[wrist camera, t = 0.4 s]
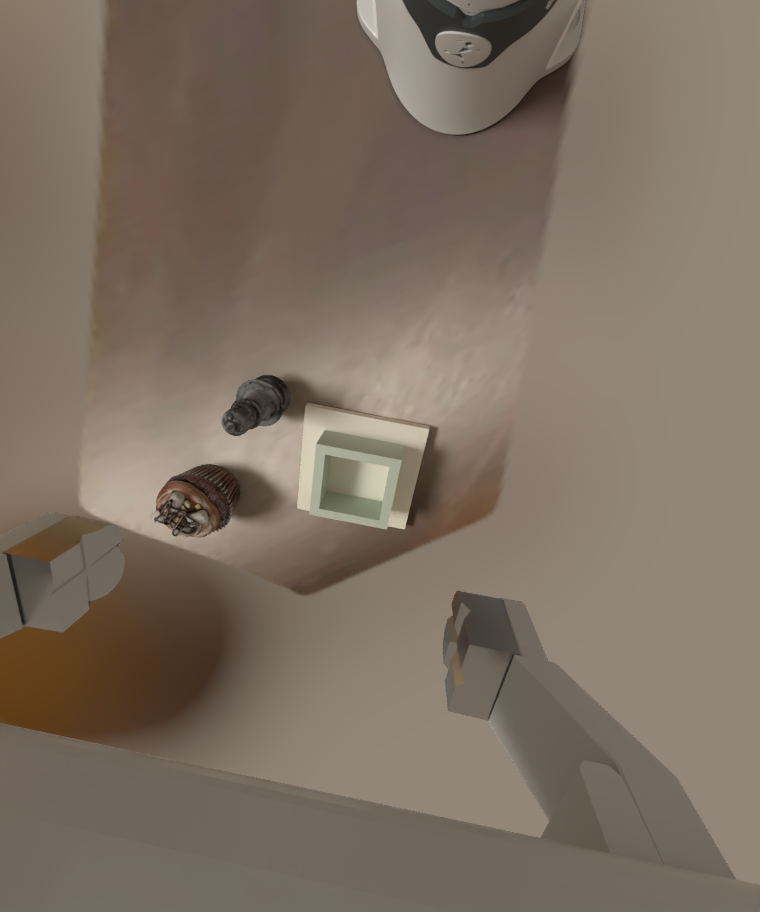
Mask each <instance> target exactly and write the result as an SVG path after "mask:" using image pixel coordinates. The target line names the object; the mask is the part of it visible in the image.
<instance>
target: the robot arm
mask: <svg viewBox="0 0 760 912" xmlns="http://www.w3.org/2000/svg"><path fill="white" fill-rule="evenodd" d="M585 4H586V0H357V14H358V19H359V22H360V24H361V26H362V28H363V29H364V31H365V32H366V34H367V35H368V36H369V38H370V39H371V40H372V41H373V43H374V44H375V45H376V46H377V47H378V48H379V50H380V52H381V54H382V57H383V59H384V62H385V65H386V68H387V71H388V74H389V78H390V80H391V83H392V85H393V88H394V90H395V92H396V94H397V96H398V97H399V99H400V101H401V102H402V104H403V105H404V106H405V108H406V109H407V110H408V111H409V112H410V114H411V115H412V116H413V117H414V118H416V119H417V120H418V121H419V122H421V123H422V124H423V125H425V126H427V127H429V128H430V129H433V130H435V131H438V132H441V133H445V134H453V135H461V134H469V133H473V132H477V131H480V130H482V129H485V128H487V127H489V126H491V125H493V124H494V123H496V122H497V121H499V120H500V119H502V118H503V117H504V116H506V115H507V114H508V113H509V112H510V111H511V110H512V109H513V108H514V107H515V106H516V105H517V104H518V103H519V102H520V101H521V99H522V98H523V97H524V96H525V95H526V93H527V92H528V91H529V90H530V89H531V87H532V86H533V85H534V84H535V83H536V82H537V81H538V80H539V79H540V78H542V77H544V76H546V75H548V74H549V73H551V72H553V71H554V70H556V69H558V68H559V67H561V66H562V65H564V64H565V63H566V62H567V61H568V60H569V59H570V58H571V57H572V56H573V54H574V52H575V50H576V48H577V46H578V44H579V41H580V37H581V31H582V24H583V17H584V11H585ZM122 541H123V539H122V533H121V528H120V527H118V526H117V525H115V524H111V523H107V522H102V521H97V520H92V519H88V518H84V517H79V516H73V515H69V514H64V513H59V512H50V513H46V514H44V515H42V516H40V517H37V518H35V519H34V520H31V521H29V522H27V523H25V524H23V525H21V526H19V527H17V528H15V529H13V530H11V531H9V532H7V533H5V534H3V535H1V536H0V638H2V637H4V636H6V635H9V634H11V633H13V632H15V631H17V630H19V629H22V628H23V626H28V627H34V628H40V629H46V630H52V631H58V632H64V631H65V630H66V629H67V628H68V627H69V626H71V625H72V624H73V623H74V622H75V621H76V620H78V619H79V618H80V617H81V616H82V615H83V614H85V613H86V612H87V611H88V610H89V608H90V603H91V601H93V600H95V599H98V598H100V597H103V596H105V595H107V594H108V593H109V592H110V591H111V590H112V589H113V588H114V587H115V586H116V585H117V583H118V582H119V580H120V578H121V577H122V575H123V571H124V566H125V561H124V555H123V554H122V552H121V551H120V550H119V549H118V545H119V544H120V543H121V542H122ZM452 611H453V616H451V617H450V618H449V619H448V620H447V623H446V627H445V631H444V638H443V662H444V664H445V666H446V667H447V668H448V673H447V676H446V680H445V686H446V696H447V707H448V711H450V712H455V713H459V714H463V715H467V716H472V717H476V718H480V719H485V720H489V722H488V723H489V725H490V726H491V728H492V730H493V731H494V733H495V734H496V736H497V738H498V739H499V741H500V742H501V744H502V746H503V747H504V749H505V751H506V752H507V754H508V755H509V757H510V759H511V760H512V762H513V764H514V765H515V766H516V768H517V770H518V772H519V773H520V775H521V776H522V778H523V779H524V781H525V783H526V784H527V786H528V788H529V789H530V791H531V792H532V794H533V796H534V797H535V799H536V800H537V802H538V804H539V805H540V807H541V809H542V810H543V812H544V813H545V815H546V817H547V818H548V820H549V824H548V825H547V827H546V829H545V831H544V832H543V834H542V836H541V838H538V837H533V836H528V835H524V834H519V833H514V832H509V831H505V830H500V829H495V828H491V827H486V826H481V825H477V824H472V823H467V822H463V821H458V820H453V819H448V818H444V817H439V816H434V815H429V814H425V813H420V812H415V811H411V810H406V809H401V808H397V807H392V806H388V805H383V804H378V803H373V802H369V801H364V800H359V799H354V798H350V797H345V796H340V795H336V794H331V793H326V792H322V791H317V790H312V789H307V788H303V787H298V786H293V785H288V784H284V783H279V782H274V781H270V780H265V779H260V778H255V777H251V776H246V775H241V774H236V773H232V772H227V771H222V770H217V769H213V768H208V767H203V766H198V765H194V764H189V763H185V762H180V761H175V760H170V759H165V758H161V757H156V756H152V755H147V754H142V753H137V752H133V751H128V750H123V749H119V748H114V747H110V746H104V745H100V744H95V743H91V742H86V741H81V740H77V739H72V738H67V737H62V736H58V735H53V734H48V733H44V732H39V731H35V730H29V729H25V728H20V727H16V726H11V725H6V724H1V723H0V912H760V885H758V884H753V883H748V882H744V881H740V880H736V878H735V876H734V875H733V873H732V871H731V870H730V868H729V866H728V864H727V863H726V861H725V859H724V858H723V856H722V854H721V852H720V851H719V849H718V847H717V846H716V844H715V842H714V840H713V839H712V837H711V835H710V834H709V832H708V830H707V828H706V827H705V825H704V823H703V822H702V820H701V818H700V817H699V815H698V813H697V811H696V810H695V808H694V806H693V804H692V803H691V801H690V799H689V798H688V796H687V794H686V793H685V791H684V789H683V787H682V786H681V784H680V782H679V780H678V779H677V777H676V776H675V775H674V774H673V773H672V772H670V771H669V770H668V769H667V768H666V767H665V766H664V765H663V764H662V763H661V762H660V761H659V760H658V759H657V758H656V757H654V756H653V755H652V754H651V753H650V752H649V751H648V750H647V749H646V748H645V747H644V746H643V745H642V744H641V743H640V742H639V741H637V739H636V738H634V737H633V736H632V735H631V734H630V733H629V732H628V731H627V730H626V729H625V728H624V727H623V726H622V725H620V724H619V722H617V721H616V720H615V719H614V718H613V717H612V716H611V715H610V714H609V713H608V712H607V711H606V710H605V709H604V708H602V706H601V705H599V704H598V703H597V702H596V701H595V700H594V699H593V698H592V697H591V696H590V695H589V694H588V693H587V692H586V691H585V690H583V689H582V688H581V687H580V686H579V685H578V684H577V683H576V682H575V681H574V680H573V679H572V678H571V677H570V676H569V675H567V673H566V672H565V671H563V670H562V669H561V668H560V667H559V666H558V665H557V664H556V663H553V662H549V661H548V659H547V657H546V654H545V652H544V650H543V647H542V645H541V643H540V640H539V638H538V635H537V633H536V630H535V628H534V626H533V623H532V620H531V618H530V616H529V613H528V611H527V608H526V606H525V604H524V603H522V602H521V601H515V600H509V599H503V598H500V599H498V598H493V597H487V596H482V595H477V594H472V593H467V592H461V591H457V592H456V593H455V595H454V598H453V602H452Z"/></svg>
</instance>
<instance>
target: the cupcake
mask: <svg viewBox="0 0 760 912" xmlns="http://www.w3.org/2000/svg"><path fill="white" fill-rule="evenodd" d="M239 496H240V486H239V485H238V483H237V480H236V479H235V478H234V476H233V475H232V474H229V473H228V472H226V471H225V470H224V469H222V468H221V467H218V466H215V465H211V464H209V465H208V464H206V465H201V466H197V467H195V468H193V469H191V470H189V471H186V472H184V473H182V474H179V475H177V476H174V477H172V478H171V479H170V480H169V481H168V482H167V483H166V484H165V486H164V487H163V488H162V489H161V491H160V492H159V494H158V496H157V500H156V503H157V505H156V512H154V513H153V514H152V515H151V520H152V522H154V523H163V524H165V525H166V526H167V527H168V528H170V529H171V530H173V531H172V534H173V536H178V535H181V536H183V537H188V536H191V537H205V536H207V535H209V534H210V533H211V532H213V533H214V532H215V530H216V531H219V529H222V527H225V526H226V525H227V524H228V522H229V521H230V518H231V516H232V513H233V511H234V508H235V506H236V504H237V502H238V499H239Z"/></svg>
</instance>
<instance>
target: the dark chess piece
mask: <svg viewBox="0 0 760 912" xmlns="http://www.w3.org/2000/svg"><path fill="white" fill-rule="evenodd" d="M289 403H290V393H289V390H288V388H287V386H286V385H285V384H284V383H283V382H282V380H280V379H278V378H277V377H274V376H271V375H264V376H260V377H258V378H256V379H254V380H249V381H247V382H245V383H243V384H242V385H241V386H240V387H239V389H238V391H237V395H236V401H235V402H234V403H233V404H232V406H231V409H229V410H228V411H227V412H225V414H224V415H223V417H222V426H223V428H224V429H225V431H226V432H227V433H229V434H231V435H233V436H239V435H242V434H244V433H245V432H246V431H248V430H249V429H254V428H256V427H257V426H270V425H272V424H274V423H276V422H277V421H278V420H279V419H280V417H281V416H282V414H283V412H284V411H285V410H286V409H287V407H288V405H289Z"/></svg>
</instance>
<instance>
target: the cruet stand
mask: <svg viewBox="0 0 760 912" xmlns="http://www.w3.org/2000/svg"><path fill="white" fill-rule="evenodd" d="M428 433H429V426H427V425H422V424H417V423H412V422H406V421H401V420H396V419H391V418H386V417H380V416H375V415H370V414H365V413H360V412H354V411H349V410H344V409H339V408H333V407H328V406H323V405H318V404H313V403H307V404H306V405H305V416H304V429H303V442H302V455H301V467H300V480H299V493H298V506H297V508H298V509H303V510H308V511H310V512H309V514H310V515H315V516H320V517H325V518H330V519H335V520H341V521H346V522H351V523H356V524H361V525H366V526H371V527H377V528H382V529H387V526H390V527H395V528H400V529H405V526H406V522H407V518H408V514H409V510H410V506H411V502H412V498H413V493H414V489H415V485H416V481H417V477H418V473H419V469H420V465H421V461H422V457H423V453H424V449H425V445H426V441H427V437H428Z"/></svg>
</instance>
